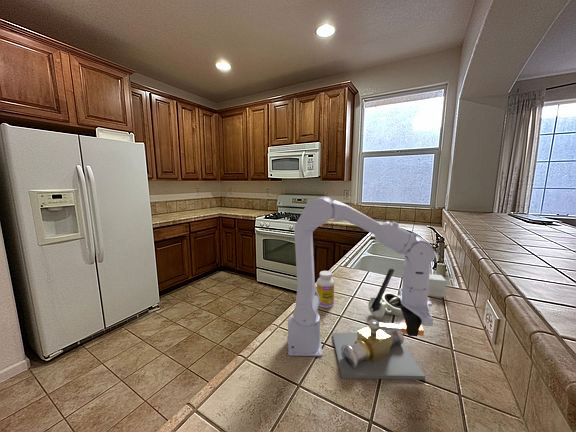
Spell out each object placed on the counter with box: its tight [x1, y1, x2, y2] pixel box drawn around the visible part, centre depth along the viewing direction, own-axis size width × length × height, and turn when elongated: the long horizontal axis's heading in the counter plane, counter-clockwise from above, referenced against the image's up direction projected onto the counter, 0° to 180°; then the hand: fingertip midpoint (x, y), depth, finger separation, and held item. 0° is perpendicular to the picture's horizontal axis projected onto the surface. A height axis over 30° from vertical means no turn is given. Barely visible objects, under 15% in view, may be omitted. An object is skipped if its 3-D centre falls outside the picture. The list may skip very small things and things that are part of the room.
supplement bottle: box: [316, 270, 335, 309], centre depth 91 cm, size 7×7×13 cm
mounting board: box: [332, 332, 426, 381], centre depth 65 cm, size 20×16×1 cm
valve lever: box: [367, 318, 425, 337], centre depth 63 cm, size 13×3×2 cm, turn 79°
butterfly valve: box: [367, 268, 403, 321], centre depth 83 cm, size 9×20×17 cm
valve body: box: [341, 326, 405, 369], centre depth 65 cm, size 18×6×8 cm, turn 118°
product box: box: [428, 273, 447, 298], centre depth 99 cm, size 6×6×7 cm
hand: (411, 334), depth 60 cm, fingers closed, pressing on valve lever
